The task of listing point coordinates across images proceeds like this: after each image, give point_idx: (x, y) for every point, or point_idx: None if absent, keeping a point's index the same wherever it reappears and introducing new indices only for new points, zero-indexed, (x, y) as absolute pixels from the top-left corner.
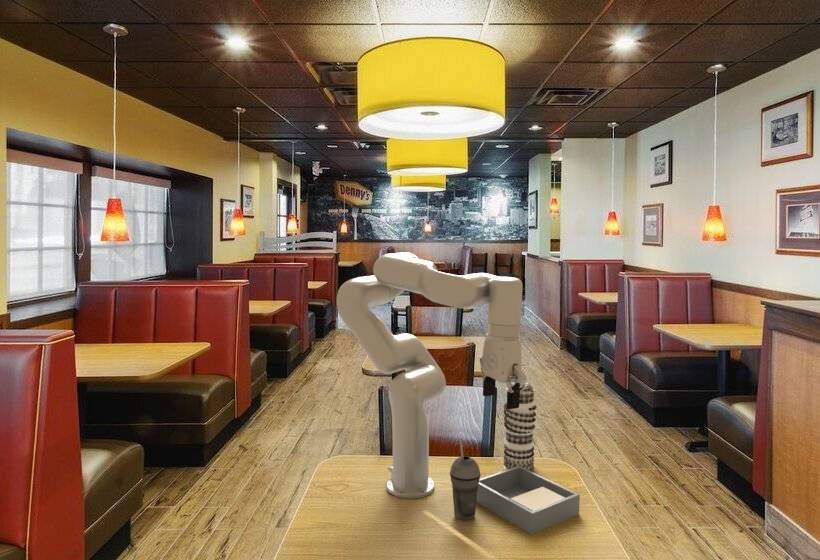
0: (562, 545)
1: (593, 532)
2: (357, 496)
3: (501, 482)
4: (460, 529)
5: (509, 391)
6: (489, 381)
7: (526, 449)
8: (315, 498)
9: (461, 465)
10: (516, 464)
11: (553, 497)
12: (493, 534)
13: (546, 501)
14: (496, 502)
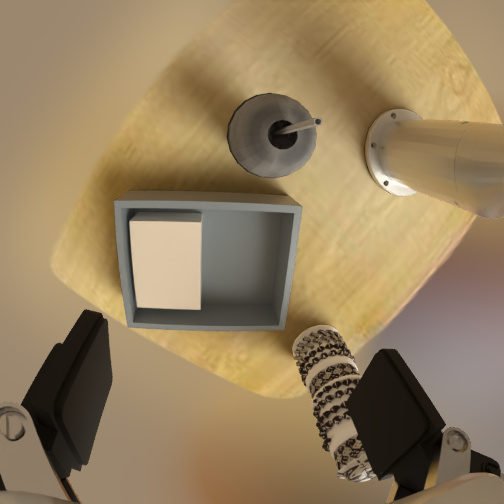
0: (91, 218)
1: (97, 286)
2: (426, 72)
3: (281, 271)
4: (233, 107)
5: (26, 416)
6: (401, 447)
7: (308, 373)
8: (447, 36)
9: (266, 104)
10: (313, 343)
11: (155, 292)
12: (180, 144)
13: (149, 270)
14: (221, 197)
